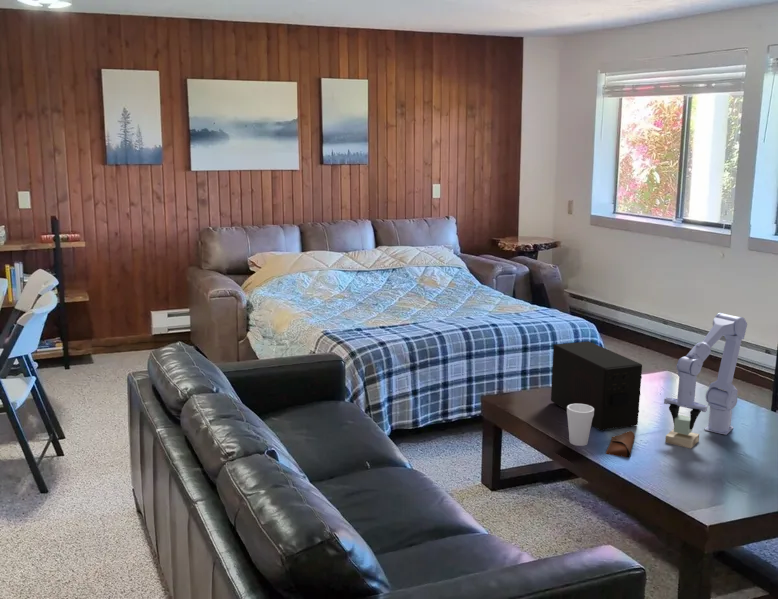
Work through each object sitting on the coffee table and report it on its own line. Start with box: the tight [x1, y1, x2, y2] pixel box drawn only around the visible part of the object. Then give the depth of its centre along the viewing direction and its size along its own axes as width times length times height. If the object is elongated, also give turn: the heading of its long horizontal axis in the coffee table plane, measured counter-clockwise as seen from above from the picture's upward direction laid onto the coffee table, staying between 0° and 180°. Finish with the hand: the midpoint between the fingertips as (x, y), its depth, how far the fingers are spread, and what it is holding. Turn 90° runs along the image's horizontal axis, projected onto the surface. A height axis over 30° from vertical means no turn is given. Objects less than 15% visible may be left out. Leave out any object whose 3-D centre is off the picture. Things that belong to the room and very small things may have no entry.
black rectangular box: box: [550, 341, 643, 432], centre depth 309 cm, size 38×20×25 cm, turn 20°
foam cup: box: [566, 404, 594, 447], centre depth 283 cm, size 10×9×13 cm
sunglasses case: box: [605, 430, 636, 459], centre depth 280 cm, size 18×7×7 cm
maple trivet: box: [664, 428, 700, 449], centre depth 285 cm, size 9×9×3 cm
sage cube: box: [673, 414, 693, 435], centre depth 284 cm, size 5×5×5 cm
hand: (683, 426), depth 284 cm, fingers closed on sage cube, 5 cm apart
